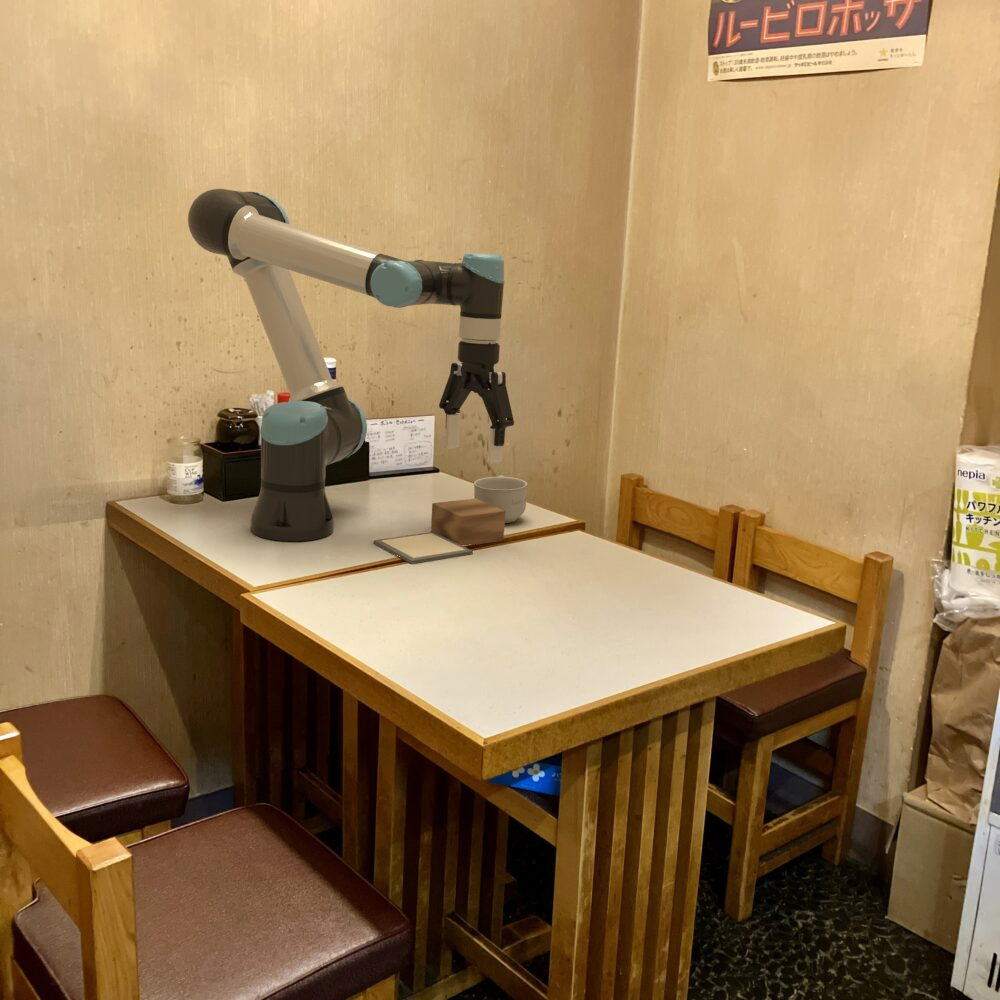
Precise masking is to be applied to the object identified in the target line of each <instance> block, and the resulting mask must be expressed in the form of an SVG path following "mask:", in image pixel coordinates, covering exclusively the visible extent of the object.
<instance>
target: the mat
mask: <svg viewBox="0 0 1000 1000" xmlns="http://www.w3.org/2000/svg"><path fill="white" fill-rule="evenodd" d="M372 542H373V543H374V545H375V544H376V545H375V546H377V545H378V546H377V547H379V546H380V547H379V548H381V549H383V548H384V549H383V550H385V551H386V550H387V551H386V552H388V551H389V552H388V553H391V554H392V553H393V555H394V554H395V555H394V556H396V555H398V556H400V557H401V558H402V559H401V558H400V559H401V560H403V561H404V562H405V561H406V562H407V563H409V564H411V565H414V564H421V563H426V562H427V563H428V562H432V561H438V560H446V559H449V558H450V559H451V558H457V557H464V556H468V555H473V553H474V552H473V550H471V549H469V548H467V546H462V545H459V544H457V543H455V542H453V541H451V540H449V539H447V538H445V537H443V536H441V535H439V534H437V533H434V532H431V531H430V532H429V531H428V532H422V533H415V534H409V535H408V534H407V535H402V536H394V537H389V538H388V537H387V538H381V539H380V538H379V539H374V540H373V541H372ZM398 556H397V557H398Z"/></svg>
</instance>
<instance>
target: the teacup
mask: <svg viewBox="0 0 1000 1000" xmlns="http://www.w3.org/2000/svg"><path fill="white" fill-rule="evenodd" d="M473 486H474V489H473V490H474V493H473V496H474V498H473V499H475V498H476V499H478V500H481V501H483V502H485V503H487V504H490V505H492V506H494V507H497V508H499V509H501V510H504V511H505V524H509V523H513V522H515V521H517V520H518V519H519V518H520V517H521V516H522V515H524V513H525V510H526V506H527V498H528V497H527V496H528V494H527V492H528V491H527V490H528V489H527V488H528V482H527V481H526V480H523V479H521V478H517V477H511V476H505V475H502V474H501V475H498V476H488V477H481V478H479V479H476V480H475V481H474V482H473Z"/></svg>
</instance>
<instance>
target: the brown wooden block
mask: <svg viewBox="0 0 1000 1000" xmlns="http://www.w3.org/2000/svg"><path fill="white" fill-rule="evenodd" d="M431 504H432V505H431V523H430V532H434V533H437V534H439V535H441V536H443V537H445V538H447V539H449V540H451V541H453V542H455V543H457V544H459V545H469V544H474V545H473V546H475V544H476V545H482V544H490V543H496V542H503V541H504V536H505V524H506V523H505V511H504V510H501V509H499V508H497V507H494V506H492V505H490V504H487V503H485V502H483V501H481V500H478V499H476V498H467V499H459V500H458V499H457V500H451V501H448V500H447V501H440V502H432V503H431ZM469 546H470V545H469Z"/></svg>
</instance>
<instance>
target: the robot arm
mask: <svg viewBox="0 0 1000 1000" xmlns="http://www.w3.org/2000/svg"><path fill="white" fill-rule="evenodd" d="M191 203H192V204H191V205H190V208H189V211H188V213H187V214H188V215H187V225H188V226H187V227H188V229H189V233H190V235H191V236H192V238H193V240H194V241H195V242H196V244H197V245H199V246H200V247H201V248H202V249H203V250H206V251H207V252H209V253H213V254H217V255H222V256H225V257H227V259H228V262H229V265H230V267H231V270H232V272H233V273H234V274H236V275H237V276H240V277H242V278H243V279H244V281H245V283H246V286H247V288H248V290H249V292H250V293H249V294H250V296H251V298H252V300H253V303H254V305H255V308H256V310H257V314H258V316H259V319H260V321H261V324H262V326H263V329H264V331H265V333H266V334H265V335H266V336H267V338H268V342H269V344H270V346H271V349H272V351H273V354H274V357H275V359H276V362H277V364H278V367H279V370H280V372H281V375H282V377H283V379H284V382H285V385H286V387H287V389H288V392H289V399H288V402H286V401H284V402H283V401H282V402H278V403H274V404H272V405H270V406H268V407H267V408H266V409H265V410H264V411H263V413H262V416H261V425H260V491H259V494H258V496H257V498H256V499H257V500H256V502H255V506H254V508H253V511H252V514H251V517H250V531H251V533H253V534H254V535H255V536H258V537H259V538H260V537H261V538H264V539H267V540H273V541H281V542H306V541H313V540H314V541H315V540H318V539H323V538H325V537H328V536H330V535H331V534H332V533H333V532H334V523H335V521H334V516H333V513H332V509H331V506H330V503H329V499H328V496H327V493H326V467H327V466H328V465H331V464H333V463H336V462H341V461H343V460H346V459H348V458H350V456H351V455H353V454H356V452H357V451H358V450H360V448H362V445H364V444H363V443H364V441H366V437H367V431H368V424H367V417H366V415H365V413H364V411H363V410H362V408H361V407H360V405H358V404H357V403H356V402H354V401H352V400H350V398H349V397H348V396H347V393H346V391H345V387H344V385H343V384H342V383H339V382H337V381H336V380H334V379H333V378H332V376H331V373H330V370H329V367H328V366H327V363H326V360H325V357H324V356H323V352H322V350H321V347H320V344H319V342H318V341H317V337H316V335H315V332H314V330H313V327H312V325H311V322H310V319H309V317H308V314H307V312H306V309H305V307H304V304H303V302H302V299H301V297H300V294H299V291H298V289H297V286H296V284H295V281H294V279H293V276H292V273H291V271H292V272H295V273H298V274H299V275H300V274H301V275H304V276H307V277H310V278H313V279H317V280H319V281H323V282H325V283H329V284H332V285H335V286H338V287H341V288H344V289H348V290H351V291H353V292H357V293H359V294H362V295H363V294H364V295H366V296H369V297H372V298H374V299H376V300H377V301H378V302H379V303H381V304H382V305H384V306H386V307H391V308H398V309H401V308H405V307H410V306H419V305H430V304H431V305H432V304H433V305H448V306H458V307H460V308H459V309H460V311H459V326H458V337H459V338H460V339H461V340H460V341H459V342H458V348H457V360H458V361H459V362H452V363H451V365H450V370H449V371H450V372H449V376H448V378H447V381H446V385H445V387H444V390H443V393H442V395H441V398H440V401H439V404H438V408H439V409H442V410H443V412H444V414H445V445H444V446H445V447H444V448H445V449H446V450H447V449H448V450H451V449H459V448H460V436H461V417H462V415H461V408H462V406H463V404H464V403H465V402H466V400H467V398H468V397H469V396H470V394H471V392H473V393H474V394H477V395H478V396H479V397H480V398H481V399H482V402H483V404H484V407H485V409H486V412H487V414H488V417H489V419H490V422H491V426H490V427H489V435H488V436H489V437H488V446H487V447H488V451H487V464H490V465H491V464H493V465H494V464H500V463H501V464H502V462H503V452H504V451H503V448H504V445H505V437H506V429H507V428H508V427H513V426H514V424H515V420H514V416H513V411H512V408H511V407H512V406H511V402H510V398H509V394H508V389H507V385H506V384H507V381H506V380H507V379H506V377H507V376H506V372H505V371H495V368H494V367H495V365H496V364H498V363H499V361H500V349H501V348H500V347H501V345H500V343H498V342H497V341H499V340H500V339H501V330H502V329H501V324H502V309H503V299H504V287H505V261H504V258H503V257H502V256H501V255H499V254H493V253H491V254H490V253H479V252H478V253H477V252H466V253H465V254H464V255H463V257H462V260H461V262H457V263H456V262H455V263H454V262H442V261H434V260H433V261H432V260H424V259H407V260H406V259H405V260H404V259H400V258H398V257H397V258H396V257H394V256H391V255H388V254H383V253H381V252H378V251H374V250H372V249H370V248H369V249H368V248H365V247H362V246H360V245H359V246H358V245H355V244H352V243H349V242H347V241H344V240H340V239H337V238H334V237H331V236H327V235H324V234H321V233H318V232H315V231H312V230H308V229H305V228H302V227H299V226H296V225H292V224H290V219H289V217H288V214H287V212H286V211H285V208H283V207H282V205H281V204H280V202H278V201H276V200H275V199H274V198H272V197H270V196H269V195H266V194H263V193H259V192H256V191H240V190H232V189H226V188H214V189H210V190H207V191H204V192H202V193H201V194H200V195H198V196H197V197H196V198H195V199H194V200H193V202H191Z"/></svg>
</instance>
